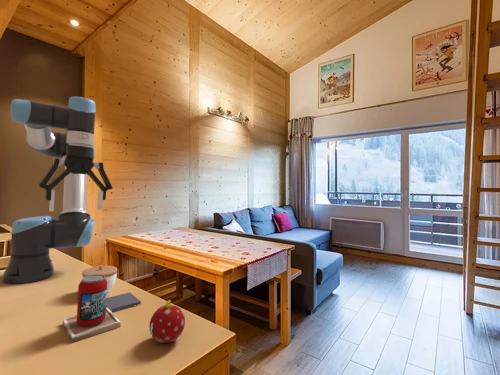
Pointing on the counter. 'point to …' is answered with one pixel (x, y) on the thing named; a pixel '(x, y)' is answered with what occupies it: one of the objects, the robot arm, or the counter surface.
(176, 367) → the counter surface
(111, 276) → the lidded jar
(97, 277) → the beverage can
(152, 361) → the counter surface
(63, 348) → the counter surface
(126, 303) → the pad
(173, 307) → the christmas ornament
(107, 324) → the board
